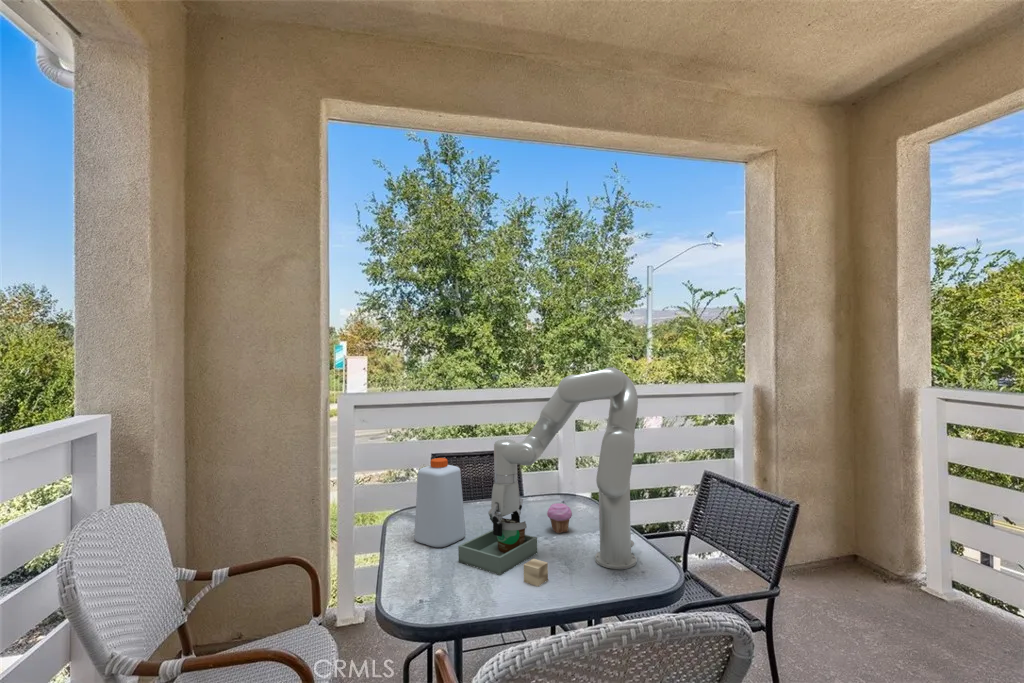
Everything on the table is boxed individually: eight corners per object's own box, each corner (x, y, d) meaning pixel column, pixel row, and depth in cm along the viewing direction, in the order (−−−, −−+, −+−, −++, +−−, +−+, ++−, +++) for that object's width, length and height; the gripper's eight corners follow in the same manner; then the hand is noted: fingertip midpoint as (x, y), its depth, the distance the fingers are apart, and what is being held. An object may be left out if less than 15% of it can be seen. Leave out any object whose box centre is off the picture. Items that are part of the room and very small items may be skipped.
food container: (486, 549, 166) (485, 518, 167) (499, 543, 171) (498, 513, 171) (514, 558, 158) (514, 526, 158) (527, 552, 163) (526, 521, 163)
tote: (497, 542, 174) (497, 527, 175) (537, 553, 165) (537, 537, 165) (458, 561, 159) (458, 545, 159) (500, 575, 149) (500, 557, 149)
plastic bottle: (470, 536, 180) (469, 457, 181) (440, 550, 168) (439, 466, 168) (439, 528, 189) (438, 453, 190) (409, 541, 177) (408, 461, 177)
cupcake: (554, 537, 178) (554, 508, 179) (543, 529, 186) (542, 502, 186) (576, 533, 182) (576, 505, 182) (564, 525, 190) (563, 498, 190)
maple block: (533, 575, 148) (533, 558, 148) (548, 580, 145) (547, 562, 145) (523, 582, 144) (523, 564, 144) (538, 586, 141) (538, 568, 141)
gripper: (512, 471, 175) (513, 521, 175) (480, 482, 161) (481, 536, 161) (530, 474, 170) (531, 525, 170) (498, 485, 157) (499, 541, 156)
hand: (506, 530), depth 165 cm, fingers open, 9 cm apart
